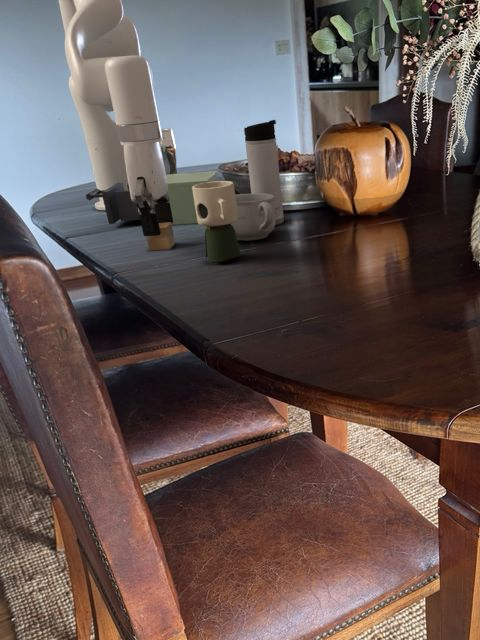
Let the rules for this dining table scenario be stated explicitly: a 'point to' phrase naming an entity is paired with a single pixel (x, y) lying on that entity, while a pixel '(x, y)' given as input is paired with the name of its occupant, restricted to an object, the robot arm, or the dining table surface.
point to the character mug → (217, 218)
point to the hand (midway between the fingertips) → (159, 229)
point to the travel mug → (264, 163)
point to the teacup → (254, 216)
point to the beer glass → (168, 151)
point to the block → (162, 238)
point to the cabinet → (185, 194)
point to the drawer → (117, 203)
